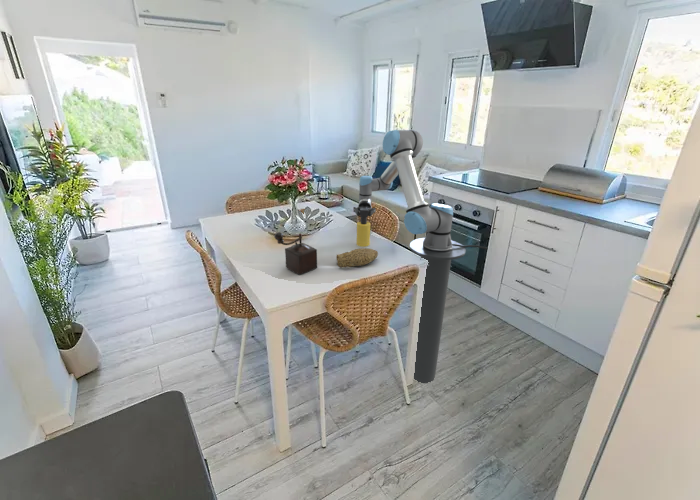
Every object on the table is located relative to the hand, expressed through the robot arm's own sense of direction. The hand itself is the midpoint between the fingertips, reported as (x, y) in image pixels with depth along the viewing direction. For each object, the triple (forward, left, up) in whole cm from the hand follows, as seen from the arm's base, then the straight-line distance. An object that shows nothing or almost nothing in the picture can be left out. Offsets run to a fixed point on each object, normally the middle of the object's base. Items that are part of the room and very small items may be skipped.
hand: (363, 218), depth 183 cm
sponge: (+2, +27, -14) cm, 31 cm away
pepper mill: (+29, +36, -14) cm, 48 cm away
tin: (+40, -31, -14) cm, 52 cm away
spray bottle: (0, +3, -14) cm, 14 cm away
